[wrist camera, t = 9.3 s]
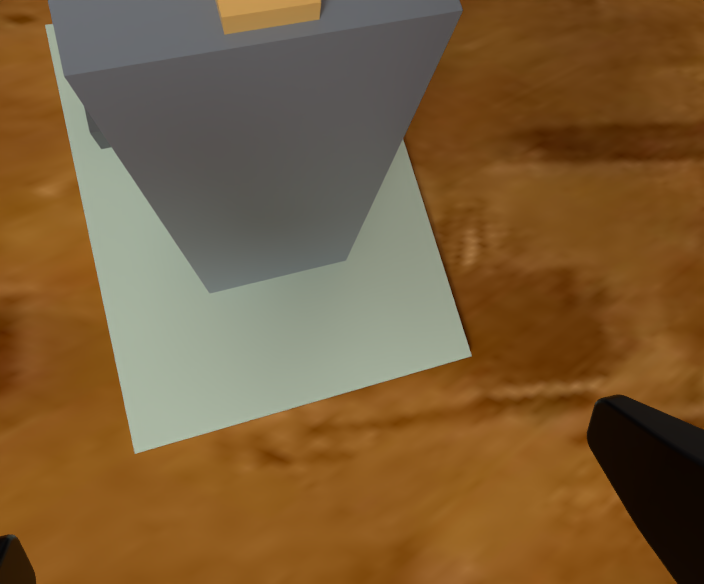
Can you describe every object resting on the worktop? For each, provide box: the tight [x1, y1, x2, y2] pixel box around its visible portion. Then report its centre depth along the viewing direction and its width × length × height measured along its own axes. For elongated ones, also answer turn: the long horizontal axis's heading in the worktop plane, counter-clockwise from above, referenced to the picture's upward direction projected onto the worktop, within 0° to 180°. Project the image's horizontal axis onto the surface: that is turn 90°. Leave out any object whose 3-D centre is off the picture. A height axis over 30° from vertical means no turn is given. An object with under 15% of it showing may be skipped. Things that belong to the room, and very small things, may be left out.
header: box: [45, 24, 472, 454], centre depth 17 cm, size 16×12×6 cm
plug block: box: [48, 0, 463, 293], centre depth 13 cm, size 5×5×13 cm
